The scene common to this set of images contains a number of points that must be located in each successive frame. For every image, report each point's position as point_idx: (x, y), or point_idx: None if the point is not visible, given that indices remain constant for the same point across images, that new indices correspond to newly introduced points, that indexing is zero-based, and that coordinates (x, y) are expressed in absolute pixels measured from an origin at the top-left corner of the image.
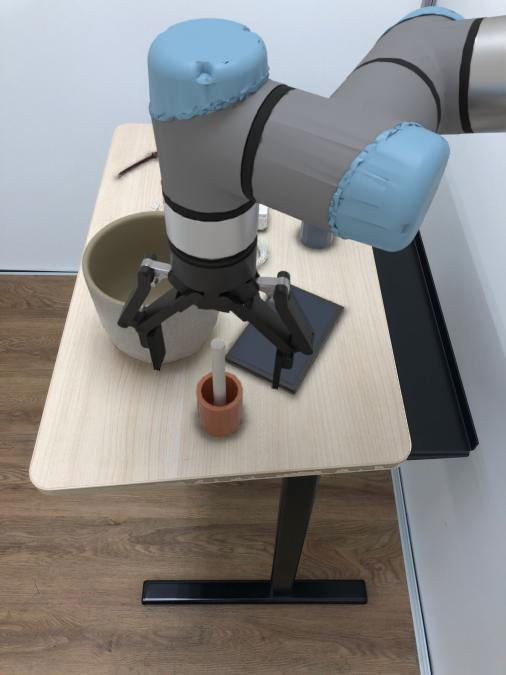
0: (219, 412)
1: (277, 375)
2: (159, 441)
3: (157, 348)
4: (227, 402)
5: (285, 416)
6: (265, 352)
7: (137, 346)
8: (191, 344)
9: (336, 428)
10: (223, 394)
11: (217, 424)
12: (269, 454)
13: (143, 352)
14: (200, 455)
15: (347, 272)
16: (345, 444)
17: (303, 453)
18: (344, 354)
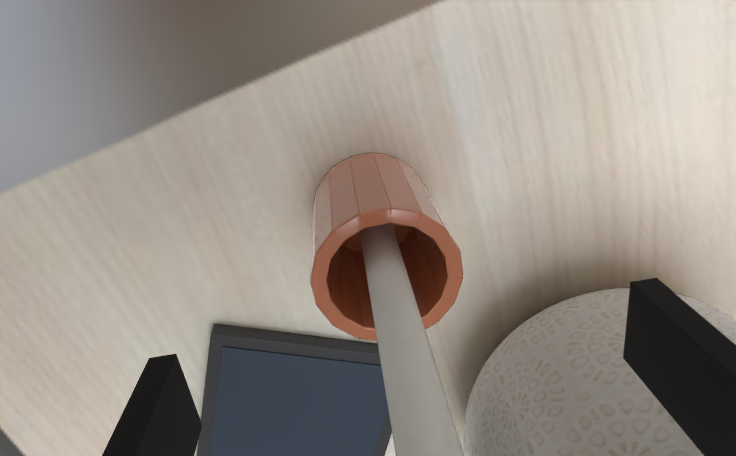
0: (362, 208)
1: (123, 437)
2: (508, 90)
3: (724, 391)
4: None
5: (210, 263)
6: (320, 399)
7: None
8: (514, 378)
9: (71, 274)
10: (370, 269)
11: (364, 177)
12: (207, 150)
13: None
14: (387, 86)
15: None
16: (27, 240)
17: (121, 182)
18: None
